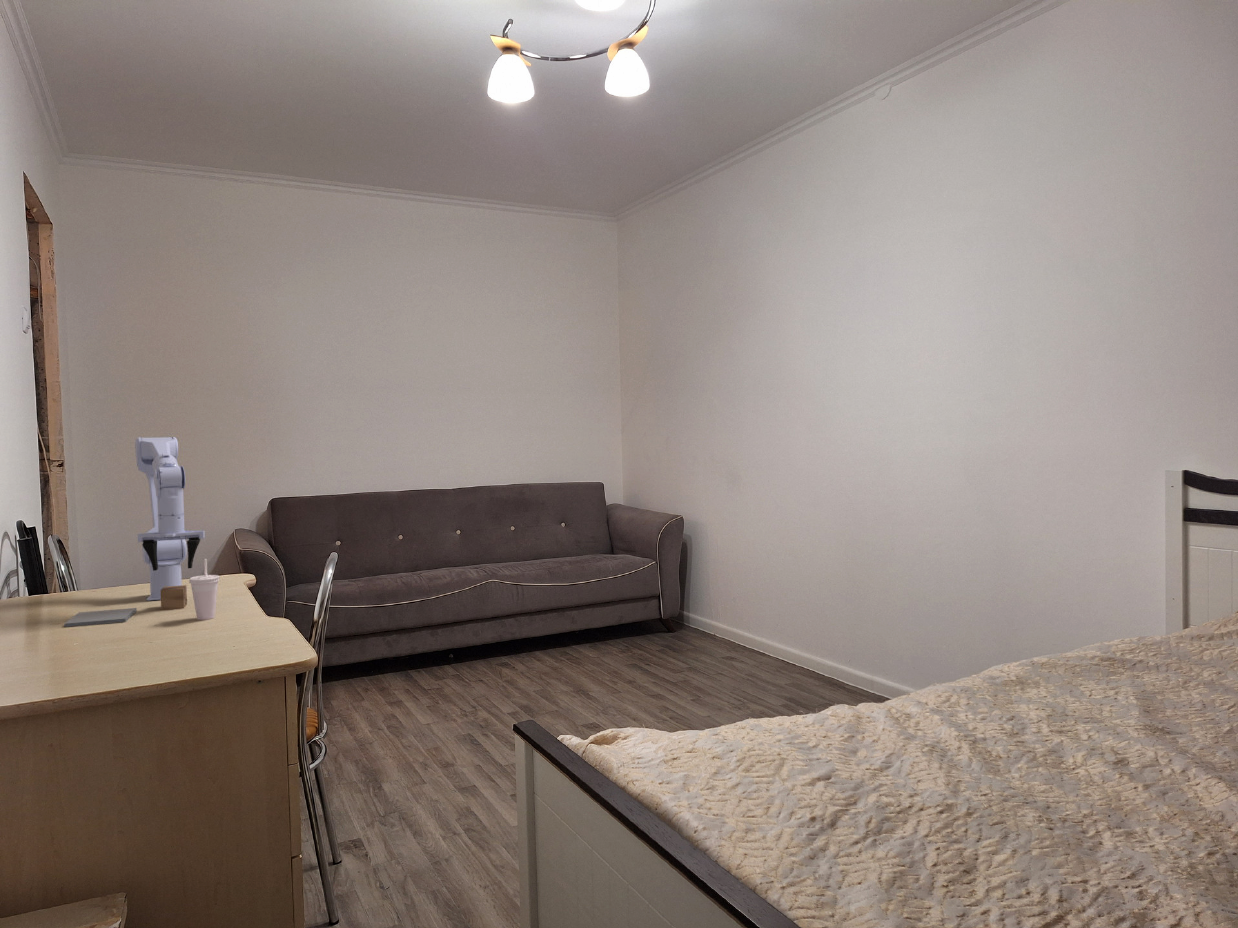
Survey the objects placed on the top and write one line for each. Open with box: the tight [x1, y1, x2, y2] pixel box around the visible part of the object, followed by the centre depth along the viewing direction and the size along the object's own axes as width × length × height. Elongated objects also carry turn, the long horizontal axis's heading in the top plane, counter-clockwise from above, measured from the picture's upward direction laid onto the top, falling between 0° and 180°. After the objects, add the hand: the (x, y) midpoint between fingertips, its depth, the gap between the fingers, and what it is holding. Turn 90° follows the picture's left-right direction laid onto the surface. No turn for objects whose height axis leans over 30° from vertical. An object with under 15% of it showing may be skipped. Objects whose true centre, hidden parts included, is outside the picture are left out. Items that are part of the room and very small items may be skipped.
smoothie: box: [188, 558, 220, 621], centre depth 187 cm, size 6×6×14 cm
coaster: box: [63, 607, 137, 628], centre depth 188 cm, size 12×12×1 cm
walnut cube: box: [160, 584, 188, 611], centre depth 199 cm, size 5×5×5 cm
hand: (172, 568), depth 199 cm, fingers open, 7 cm apart
